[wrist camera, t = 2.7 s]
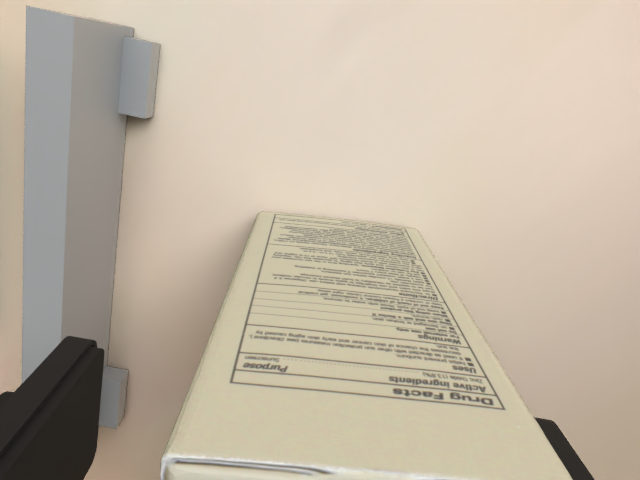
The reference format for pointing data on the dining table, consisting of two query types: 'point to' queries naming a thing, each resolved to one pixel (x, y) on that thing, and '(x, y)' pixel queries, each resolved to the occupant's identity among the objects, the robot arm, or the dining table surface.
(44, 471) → the robot arm
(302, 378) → the skincare box
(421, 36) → the dining table surface
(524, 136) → the dining table surface
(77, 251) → the grey drawer handle
